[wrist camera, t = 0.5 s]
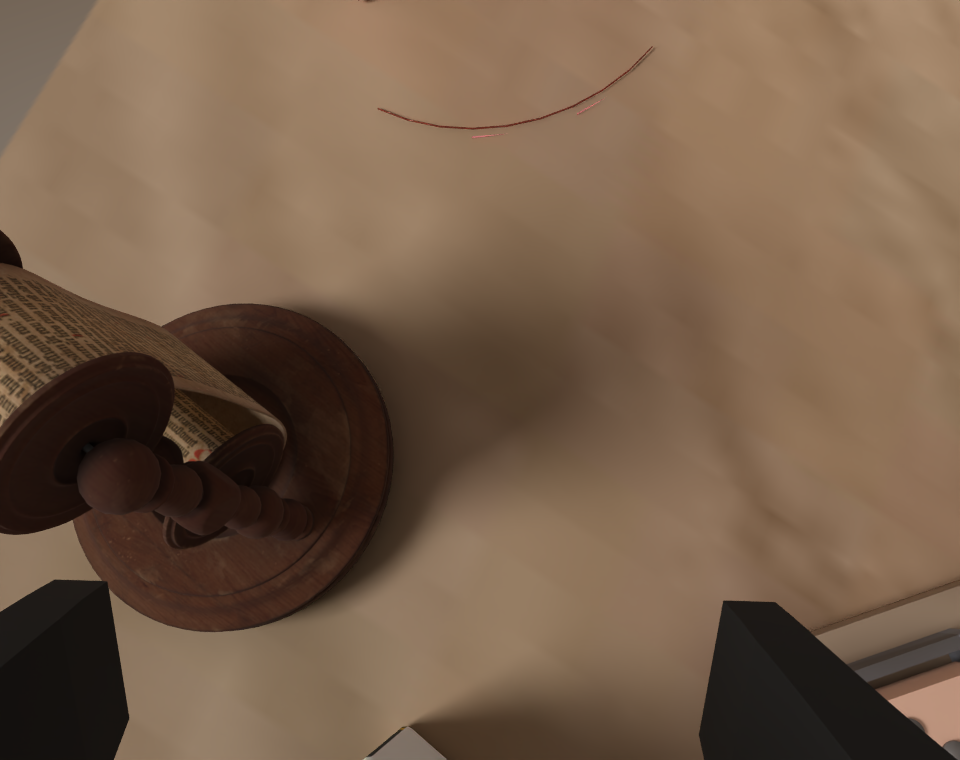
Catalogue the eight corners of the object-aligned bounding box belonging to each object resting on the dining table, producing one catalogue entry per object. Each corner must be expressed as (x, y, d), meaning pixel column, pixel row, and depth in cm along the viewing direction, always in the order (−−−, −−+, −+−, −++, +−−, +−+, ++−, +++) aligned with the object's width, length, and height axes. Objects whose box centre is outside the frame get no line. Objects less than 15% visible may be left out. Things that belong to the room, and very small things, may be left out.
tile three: (1015, 786, 28) (1054, 803, 26) (897, 827, 28) (926, 847, 26) (954, 661, 30) (987, 667, 27) (841, 700, 30) (864, 709, 27)
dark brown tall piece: (463, 436, 37) (353, 266, 18) (258, 700, 35) (-122, 834, 15) (238, 266, 40) (-58, -29, 21) (40, 497, 38) (-491, 401, 19)
